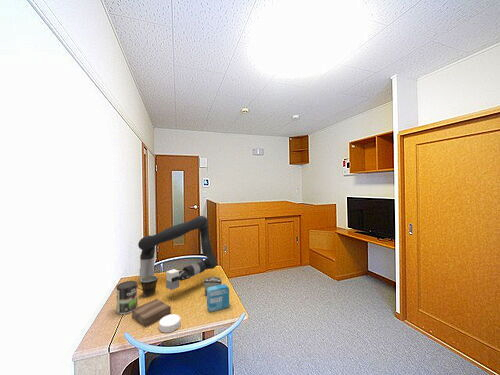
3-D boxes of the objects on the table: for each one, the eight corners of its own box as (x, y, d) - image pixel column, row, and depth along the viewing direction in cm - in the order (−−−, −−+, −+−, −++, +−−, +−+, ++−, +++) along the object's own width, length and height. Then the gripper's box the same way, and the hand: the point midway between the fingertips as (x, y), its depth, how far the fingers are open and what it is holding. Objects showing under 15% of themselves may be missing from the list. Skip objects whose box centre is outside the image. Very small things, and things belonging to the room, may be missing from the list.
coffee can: (141, 306, 126) (141, 281, 126) (125, 316, 117) (125, 289, 117) (128, 303, 130) (128, 279, 130) (112, 312, 120) (111, 287, 120)
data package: (208, 312, 119) (208, 290, 119) (206, 308, 123) (206, 287, 123) (229, 307, 124) (229, 286, 124) (226, 303, 128) (226, 283, 128)
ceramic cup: (152, 289, 147) (152, 274, 147) (160, 293, 142) (160, 277, 142) (132, 297, 137) (132, 281, 137) (141, 301, 131) (141, 285, 131)
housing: (166, 287, 135) (166, 271, 135) (174, 284, 139) (174, 268, 139) (171, 290, 132) (171, 273, 132) (179, 286, 136) (179, 271, 136)
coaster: (184, 321, 112) (183, 314, 112) (174, 334, 102) (174, 326, 102) (166, 319, 113) (166, 312, 113) (154, 332, 103) (154, 324, 103)
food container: (224, 292, 142) (224, 276, 142) (222, 296, 136) (221, 280, 136) (206, 291, 143) (205, 276, 143) (203, 296, 137) (202, 280, 137)
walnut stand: (132, 317, 115) (132, 309, 115) (156, 305, 127) (156, 298, 127) (145, 327, 107) (145, 319, 107) (170, 313, 118) (170, 306, 118)
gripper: (185, 262, 151) (162, 270, 138) (198, 267, 142) (175, 275, 129) (185, 273, 151) (162, 281, 138) (198, 278, 142) (175, 288, 129)
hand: (169, 278), depth 133 cm, fingers closed on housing, 5 cm apart
